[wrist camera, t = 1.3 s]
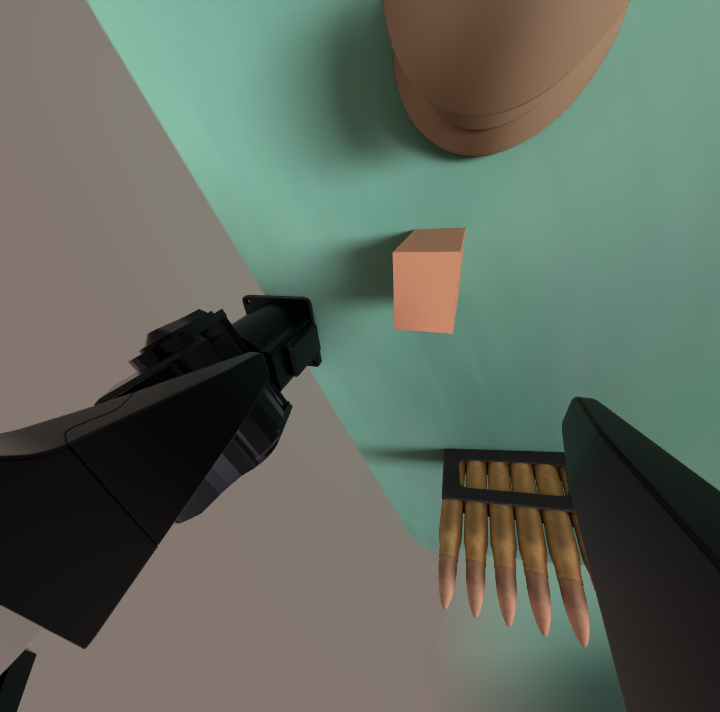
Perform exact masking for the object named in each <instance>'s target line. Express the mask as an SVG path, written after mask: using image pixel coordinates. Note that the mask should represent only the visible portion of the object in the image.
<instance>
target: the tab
mask: <svg viewBox="0 0 720 712" xmlns="http://www.w3.org/2000/svg"><path fill="white" fill-rule="evenodd" d="M464 238H465V228H443V229H415V230H414V231H413V232H412V233H411V234H410V235H409V236H408V237H407V238H406V239H405V240H404V241H403V242H402V243H401V244H400V245H399V246H398V247H397V248H396V249H395V250H394V251H393V288H394V329H398V330H411V331H424V332H437V333H450V334H453V328H454V322H455V315H456V309H457V302H458V296H459V287H460V277H461V268H462V258H463V248H464Z"/></svg>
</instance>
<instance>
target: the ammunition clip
mask: <svg viewBox="0 0 720 712" xmlns="http://www.w3.org/2000/svg"><path fill="white" fill-rule="evenodd" d="M465 474H466V487H464V481H465ZM487 475H488V488H489V490H488V489H487ZM510 477H511V480H510ZM534 478H535V479H534ZM535 480H536V484H535ZM561 481H562V484H561ZM511 482H512V491H513V492H512V491H511ZM536 485H537V490H538V494H537V490H536ZM562 485H563V488H564V492H565V496H564V492H563V488H562ZM463 513H465V520H464V544H465V550H466V582H467V592H468V599H469V604H470V608H471V611H472V614H473V616H474V617H475V618H477V617H478V615H479V612H480V610H481V606H482V602H483V597H484V588H485V568H486V553H487V547H488V517H490V541H491V548H492V552H493V557H494V568H495V578H496V588H497V595H498V600H499V604H500V608H501V612H502V615H503V618H504V620H505V622H506V625H507V626H508V627H510V626H511V625H512V622H513V619H514V615H515V609H516V595H517V589H516V588H517V586H516V562H515V561H516V551H517V544H516V534H515V523H514V520H516V527H517V536H518V545H519V550H520V554H521V557H522V560H523V566H524V572H525V575H526V583H527V589H528V595H529V599H530V604H531V607H532V611H533V614H534V617H535V620H536V622H537V625H538V627H539V629H540V631H541V633H542V635H543V636H545V637H546V636H547V635H548V632H549V628H550V619H551V602H550V590H549V583H548V572H547V549H546V543H545V537H544V531H543V525H542V523H544V527H545V533H546V538H547V543H548V549H549V553H550V556H551V559H552V561H553V564H554V567H555V570H556V575H557V579H558V582H559V586H560V591H561V595H562V599H563V603H564V606H565V609H566V612H567V615H568V618H569V621H570V623H571V626H572V628H573V630H574V632H575V635H576V637H577V638H578V640H579V642H580V643H581V645H582V646H583V647H587V645H588V640H589V616H588V608H587V601H586V597H585V592H584V589H583V581H582V576H581V568H580V556H579V552H578V548H577V544H576V540H575V536H574V532H573V528H572V527H574V529H575V533H576V537H577V540H578V544H579V548H580V551H581V555H582V558H583V561H584V564H585V566H586V568H587V570H588V572H589V574H590V577H591V580H592V583H593V579H592V575H591V571H590V568H589V564H588V560H587V556H586V552H585V548H584V544H583V540H582V536H581V532H580V529H579V525H578V521H577V517H576V513H575V509H574V505H573V501H572V497H571V493H570V489H569V483H568V476H567V468H566V459H565V453H564V452H534V451H504V450H475V449H445V450H444V465H443V484H442V508H441V518H440V528H439V541H440V551H439V592H440V599H441V603H442V606H443V609H447V607H448V605H449V603H450V601H451V598H452V595H453V591H454V587H455V580H456V572H457V563H458V554H459V548H460V545H461V539H462V520H463ZM593 586H594V583H593ZM594 589H595V587H594Z"/></svg>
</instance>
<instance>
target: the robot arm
mask: <svg viewBox="0 0 720 712" xmlns="http://www.w3.org/2000/svg"><path fill="white" fill-rule="evenodd" d="M242 300H243V304H244V307H245V311H246V314H247V315H246V316H244V317H243V318H241V319H240V320H238V321H237V322H235V323H233V324H231V323H230V322H229V320H228V319H227V317H226V316H227V315H226V314H225V312H224V311H223V309H221V310H219V311H218V312H216V313H213V312H212V311H211V312H209V313H207V312H205V311H202V310H200V309H198V310H197V311H195V312H193V313H191V314H189V315H187V316H185V317H183V318H181V319H179V320H177V321H174V322H172V323H170V324H167V325H165V326H163V327H161V328H158V329H156V330H154V331H152V332H150V333H149V334H148V335H147V340H146V344H145V348H143V349H141V350H140V351H139V352H140V353H141V355H139V356H138V357H136V358H134V359H133V360H131V361H129V363H130V364H131V365H132V367H133V368H134V369H135V370H136V371H137V372H136V373H135V374H133V375H131V376H130V377H128V378H126V379H125V380H123V381H121V382H119V383H118V384H116V385H115V386H113V387H112V388H111V389H110V390H109V391H108V392H106V394H104V395H103V396H102V397H101V398H100V399H99V400H98V401H97V402H96V404H95V405H94V406H93V407H90V408H86V409H83V410H80V411H77V412H74V413H70V414H67V415H64V416H61V417H57V418H54V419H51V420H48V421H44V422H41V423H38V424H35V425H31V426H28V427H25V428H22V429H18V430H15V431H11V432H5V433H0V712H17V709H18V706H19V703H20V701H21V698H22V695H23V692H24V689H25V686H26V683H27V680H28V677H29V675H30V672H31V669H32V666H33V663H34V660H35V657H36V654H35V653H34V652H33V651H31V650H30V649H29V648H27V647H28V646H29V645H30V644H31V642H32V641H33V640H34V639H35V638H36V637H37V636H38V635H39V634H40V633H41V632H42V631H43V630H44V629H47V630H49V631H50V632H53V633H54V634H57V635H58V636H60V637H62V638H64V639H66V640H68V641H70V642H72V643H73V644H75V645H77V646H79V647H81V648H83V649H85V648H87V647H88V645H89V644H90V643H91V642H92V640H93V639H94V638H95V636H96V635H97V634H98V632H99V631H100V629H101V628H102V626H103V625H104V623H105V622H106V621H107V619H108V618H109V616H110V615H111V613H112V612H113V610H114V609H115V608H116V606H117V605H118V603H119V602H120V600H121V599H122V597H123V596H124V594H125V593H126V592H127V590H128V589H129V587H130V586H131V584H132V583H133V582H134V580H135V579H136V577H137V576H138V574H139V573H140V571H141V570H142V569H143V567H144V566H145V564H146V563H147V561H148V560H149V558H150V557H151V556H152V554H153V553H154V551H155V550H156V548H157V547H158V545H159V544H160V542H161V541H162V539H163V538H164V536H165V535H166V534H167V532H168V530H169V529H170V528H171V526H172V525H173V523H174V522H175V523H182V522H184V521H186V520H188V519H190V518H193V517H195V516H197V515H199V514H201V513H202V512H203V511H204V510H205V509H206V508H207V507H208V506H209V505H210V504H211V503H212V502H213V501H214V500H215V499H216V498H217V497H218V496H219V495H220V494H221V493H222V492H223V491H224V490H225V489H226V488H228V487H229V486H230V485H231V484H232V483H233V482H235V481H236V480H237V479H238V478H240V477H241V476H242V475H244V474H245V473H247V472H249V471H250V470H252V469H254V468H255V467H256V466H258V465H259V464H260V463H261V462H263V461H264V460H265V459H266V458H267V457H268V456H269V455H270V454H271V453H272V451H273V450H274V449H275V447H276V445H277V443H278V441H279V439H280V437H281V434H282V432H283V429H284V427H285V424H286V422H287V419H288V417H289V415H290V412H291V409H292V405H291V404H290V402H289V401H287V400H286V399H285V398H284V396H283V395H282V394H281V391H282V389H283V388H284V387H285V386H286V385H287V384H288V383H289V381H290V380H291V379H292V378H293V377H297V376H299V375H300V373H301V372H302V371H303V370H304V369H305V367H306V366H314V367H318V366H319V365H320V364H321V362H322V360H321V354H320V350H321V348H320V343H319V337H318V332H317V326H316V324H315V322H314V316H313V311H312V305H311V302H310V300H309V299H308V298H305V297H286V296H264V295H246V296H245V297H243V299H242ZM248 300H249V301H250V302H249V301H248ZM303 302H304V303H305V304H306V306H305V305H304V304H303ZM315 360H316V361H317V362H316V361H315ZM562 435H563V443H564V451H565V459H566V468H567V476H568V483H569V489H570V493H571V497H572V501H573V505H574V509H575V513H576V517H577V521H578V525H579V529H580V532H581V536H582V540H583V544H584V548H585V552H586V556H587V560H588V564H589V568H590V571H591V575H592V579H593V583H594V587H595V591H596V595H597V599H598V603H599V606H600V610H601V614H602V618H603V622H604V626H605V629H606V634H607V638H608V641H609V645H610V649H611V653H612V657H613V661H614V665H615V669H616V673H617V677H618V680H619V684H620V688H621V692H622V696H623V699H624V704H625V708H626V712H720V491H719V490H718V489H716V488H715V487H714V486H712V485H711V484H710V483H708V482H707V481H705V480H704V479H703V478H701V477H700V476H699V475H697V474H696V473H695V472H693V471H692V470H691V469H689V468H688V467H687V466H685V465H684V464H683V463H681V462H680V461H678V460H677V459H676V458H674V457H673V456H672V455H670V454H669V453H668V452H666V451H665V450H664V449H662V448H661V447H660V446H658V445H657V444H655V443H654V442H653V441H651V440H650V439H649V438H647V437H646V436H645V435H643V434H642V433H641V432H639V431H638V430H637V429H635V428H634V427H632V426H631V425H630V424H628V423H627V422H626V421H624V420H623V419H622V418H620V417H619V416H618V415H616V414H615V413H614V412H612V411H611V410H609V409H608V408H607V407H605V406H604V405H603V404H601V403H600V402H599V401H597V400H595V399H592V398H584V397H575V398H573V399H572V401H571V403H570V405H569V408H568V410H567V412H566V415H565V417H564V419H563V423H562Z"/></svg>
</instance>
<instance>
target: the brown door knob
mask: <svg viewBox="0 0 720 712" xmlns="http://www.w3.org/2000/svg"><path fill="white" fill-rule="evenodd" d="M629 2H630V0H383V6H384V12H385V18H386V24H387V29H388V33H389V36H390V40H391V44H392V51H393V66H394V72H395V78H396V84H397V87H398V91H399V94H400V98H401V100H402V103H403V105H404V108H405V110H406V112H407V113H408V115H409V117H410V119H411V121H412V122H413V123H414V125H415V126H416V127H417V129H418V130H419V131H420V132H421V133H422V134H423V135H424V136H425V137H426V138H427V139H428V140H430V141H431V142H432V143H434V144H435V145H437V146H439V147H441V148H443V149H445V150H447V151H449V152H452V153H456V154H459V155H467V156H483V155H489V154H494V153H498V152H501V151H504V150H507V149H509V148H512V147H514V146H516V145H518V144H520V143H522V142H524V141H526V140H527V139H529V138H531V137H532V136H534V135H536V134H537V133H539V132H540V131H541V130H543V129H544V128H545V127H547V126H548V125H549V124H551V123H552V122H553V121H554V120H555V119H556V118H557V117H558V116H560V115H561V114H562V113H563V112H564V111H565V110H566V109H567V108H568V107H569V106H570V105H571V104H572V102H573V101H574V100H575V99H576V98H577V97H578V96H579V95H580V93H581V92H582V91H583V89H584V88H585V87H586V86H587V84H588V83H589V82H590V80H591V79H592V78H593V76H594V75H595V73H596V71H597V70H598V68H599V67H600V65H601V64H602V62H603V61H604V59H605V57H606V55H607V53H608V51H609V49H610V48H611V46H612V44H613V42H614V40H615V38H616V36H617V33H618V31H619V29H620V26H621V24H622V22H623V19H624V17H625V14H626V11H627V8H628V5H629Z"/></svg>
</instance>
